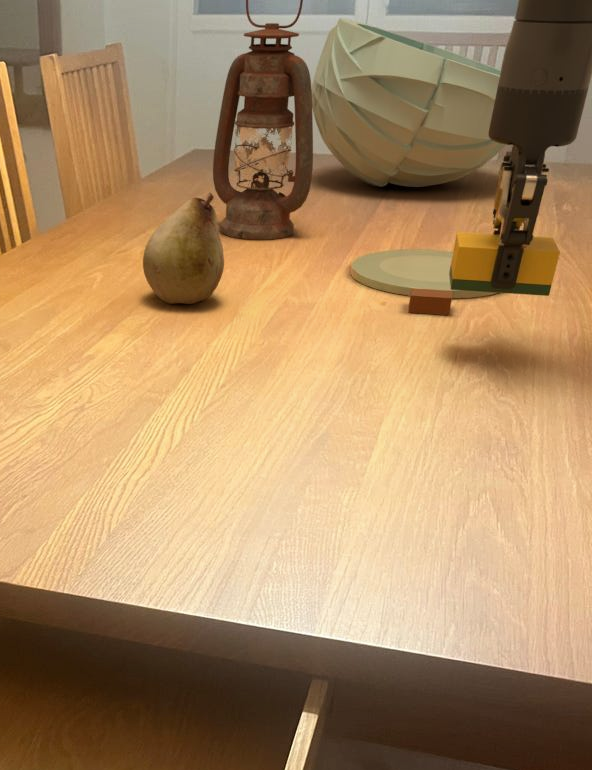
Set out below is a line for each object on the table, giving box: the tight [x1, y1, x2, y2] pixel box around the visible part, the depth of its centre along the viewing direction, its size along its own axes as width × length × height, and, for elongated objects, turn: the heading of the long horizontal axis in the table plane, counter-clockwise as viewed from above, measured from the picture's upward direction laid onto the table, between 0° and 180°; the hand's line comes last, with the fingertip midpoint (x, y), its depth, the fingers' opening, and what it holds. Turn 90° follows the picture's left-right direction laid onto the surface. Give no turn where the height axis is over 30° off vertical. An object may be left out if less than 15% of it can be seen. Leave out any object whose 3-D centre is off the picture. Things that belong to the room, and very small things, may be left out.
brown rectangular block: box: [407, 288, 453, 316], centre depth 111 cm, size 4×3×2 cm, turn 75°
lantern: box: [212, 0, 314, 241], centre depth 134 cm, size 11×16×35 cm
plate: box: [350, 248, 498, 300], centre depth 123 cm, size 20×20×1 cm
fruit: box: [142, 192, 225, 305], centre depth 112 cm, size 10×9×12 cm
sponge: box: [449, 232, 561, 297], centre depth 93 cm, size 9×6×4 cm, turn 75°
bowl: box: [311, 17, 507, 188], centre depth 167 cm, size 35×35×22 cm
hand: (499, 278), depth 94 cm, fingers closed on sponge, 6 cm apart
